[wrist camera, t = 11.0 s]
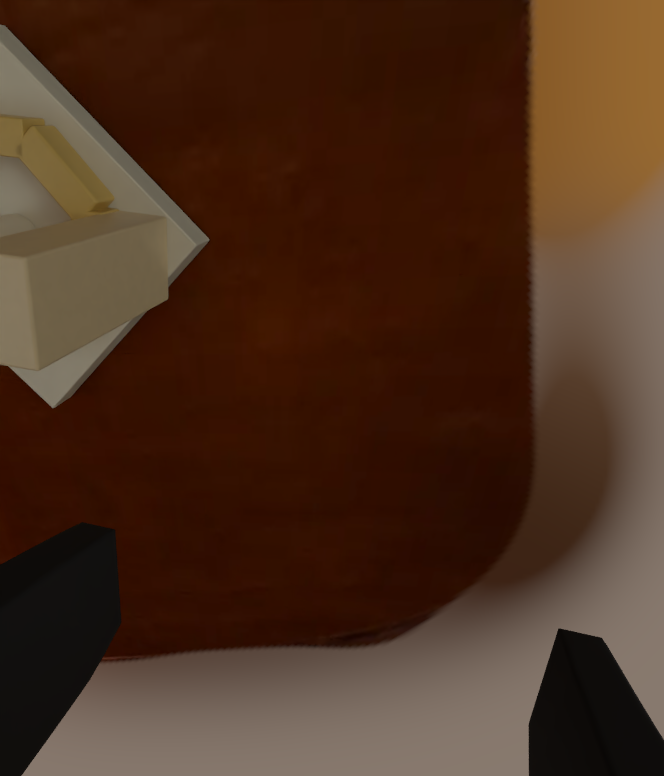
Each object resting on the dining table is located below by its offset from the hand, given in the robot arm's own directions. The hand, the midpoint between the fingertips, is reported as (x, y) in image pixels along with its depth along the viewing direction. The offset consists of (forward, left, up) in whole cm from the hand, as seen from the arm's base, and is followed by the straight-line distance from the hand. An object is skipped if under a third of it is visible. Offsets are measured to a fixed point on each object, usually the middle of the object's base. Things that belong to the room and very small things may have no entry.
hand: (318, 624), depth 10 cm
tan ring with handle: (+11, +5, -9) cm, 15 cm away
